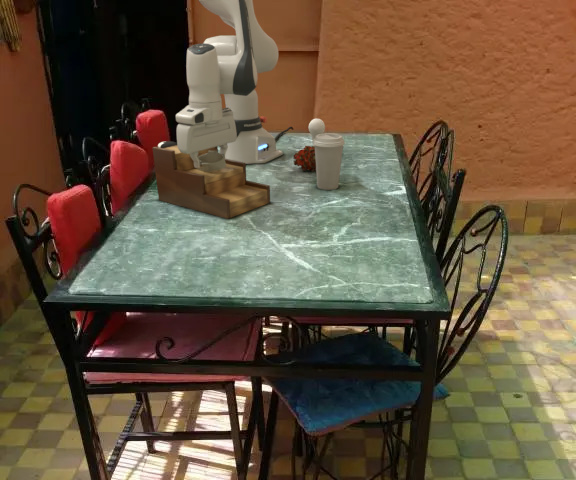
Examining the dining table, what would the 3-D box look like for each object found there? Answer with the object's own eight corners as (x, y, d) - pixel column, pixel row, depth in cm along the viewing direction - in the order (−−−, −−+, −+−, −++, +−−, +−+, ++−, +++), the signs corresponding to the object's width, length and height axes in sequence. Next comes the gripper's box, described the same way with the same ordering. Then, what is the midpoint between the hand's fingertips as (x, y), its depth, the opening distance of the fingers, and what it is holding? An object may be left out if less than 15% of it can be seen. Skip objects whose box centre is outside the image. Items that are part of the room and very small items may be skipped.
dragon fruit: (322, 178, 211) (295, 177, 218) (333, 158, 213) (306, 158, 220) (310, 160, 204) (283, 160, 212) (322, 139, 206) (294, 140, 214)
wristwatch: (230, 168, 182) (229, 150, 180) (219, 174, 178) (218, 155, 175) (203, 165, 186) (201, 147, 183) (191, 170, 181) (189, 152, 178)
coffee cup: (345, 190, 194) (347, 139, 186) (314, 191, 193) (315, 140, 185) (340, 182, 202) (342, 132, 194) (310, 183, 201) (311, 133, 193)
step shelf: (202, 186, 199) (198, 136, 191) (270, 202, 185) (268, 149, 176) (158, 200, 188) (152, 147, 180) (227, 218, 173) (224, 162, 165)
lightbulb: (316, 147, 242) (316, 116, 236) (327, 149, 238) (328, 118, 232) (304, 149, 239) (305, 118, 232) (316, 152, 235) (316, 120, 229)
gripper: (224, 105, 181) (227, 155, 189) (170, 116, 168) (176, 169, 176) (240, 107, 178) (242, 158, 186) (187, 119, 165) (192, 173, 172)
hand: (210, 163), depth 181 cm, fingers open, 8 cm apart
